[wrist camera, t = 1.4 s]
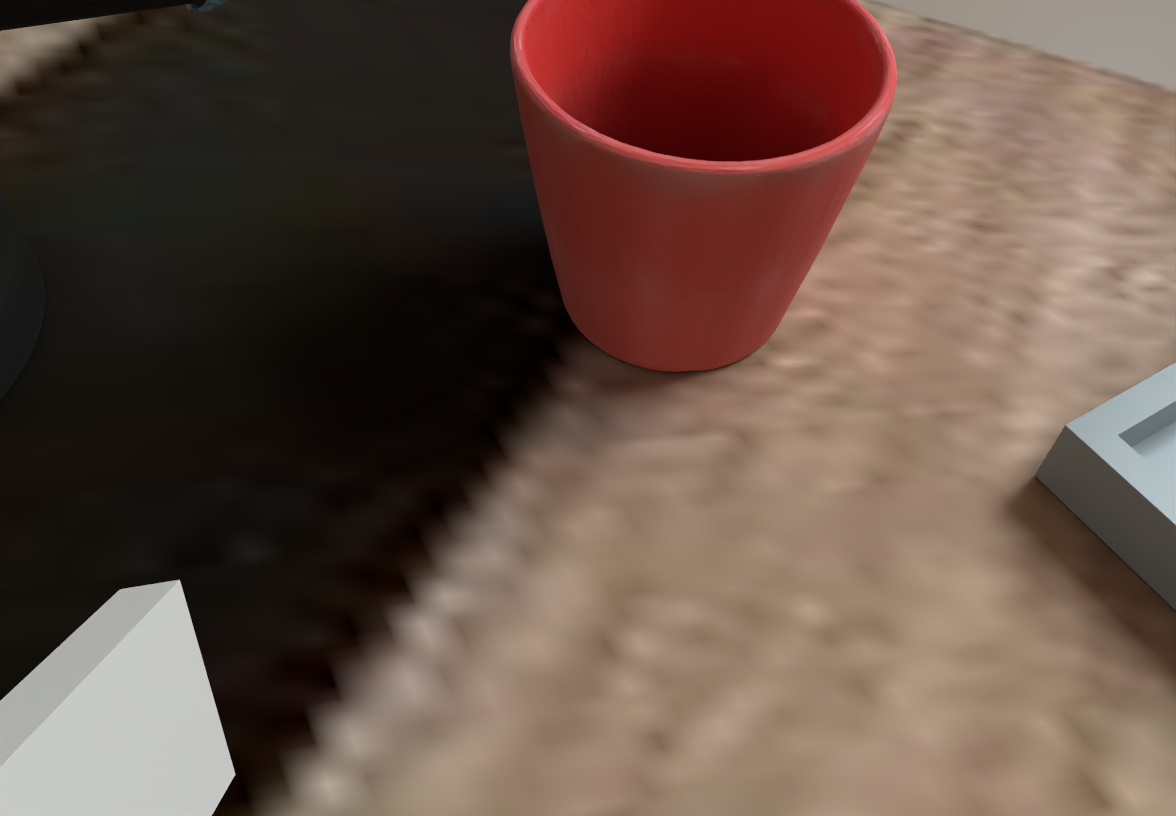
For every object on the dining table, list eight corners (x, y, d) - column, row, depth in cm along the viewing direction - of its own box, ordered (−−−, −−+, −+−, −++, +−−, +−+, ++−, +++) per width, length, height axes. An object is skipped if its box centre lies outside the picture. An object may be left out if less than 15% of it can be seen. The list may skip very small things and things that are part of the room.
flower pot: (820, 197, 40) (880, -52, 32) (838, 427, 33) (920, 181, 25) (540, 178, 40) (534, -72, 32) (500, 401, 33) (481, 151, 26)
